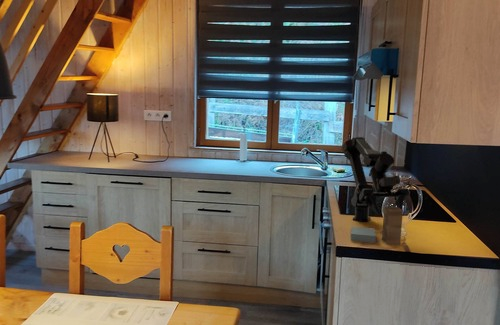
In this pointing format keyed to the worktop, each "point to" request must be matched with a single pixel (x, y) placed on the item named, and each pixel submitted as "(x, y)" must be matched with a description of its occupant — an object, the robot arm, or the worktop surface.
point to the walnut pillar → (392, 225)
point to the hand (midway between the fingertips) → (389, 214)
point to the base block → (363, 234)
